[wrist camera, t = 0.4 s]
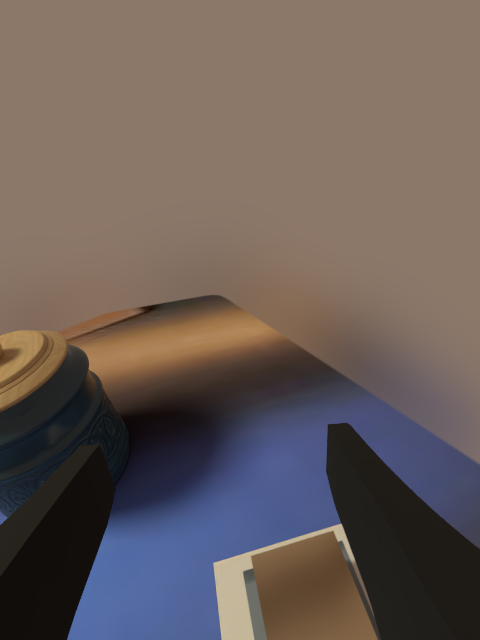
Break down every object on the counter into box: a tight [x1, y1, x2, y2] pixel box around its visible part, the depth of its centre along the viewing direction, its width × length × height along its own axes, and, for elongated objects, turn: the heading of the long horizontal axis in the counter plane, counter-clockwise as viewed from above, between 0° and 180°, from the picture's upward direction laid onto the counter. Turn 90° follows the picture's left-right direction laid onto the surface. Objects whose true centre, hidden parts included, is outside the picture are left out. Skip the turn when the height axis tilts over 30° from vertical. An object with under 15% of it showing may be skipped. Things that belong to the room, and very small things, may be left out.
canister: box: [0, 330, 130, 518], centre depth 30 cm, size 13×13×18 cm
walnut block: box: [251, 531, 378, 640], centre depth 20 cm, size 6×6×5 cm
